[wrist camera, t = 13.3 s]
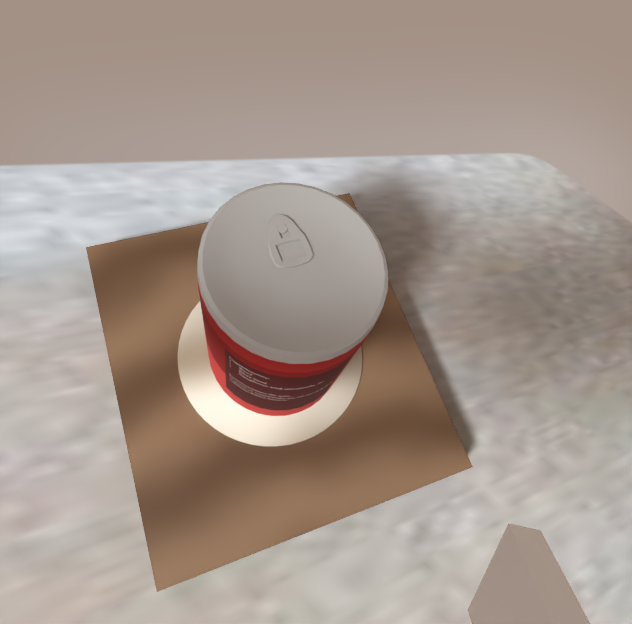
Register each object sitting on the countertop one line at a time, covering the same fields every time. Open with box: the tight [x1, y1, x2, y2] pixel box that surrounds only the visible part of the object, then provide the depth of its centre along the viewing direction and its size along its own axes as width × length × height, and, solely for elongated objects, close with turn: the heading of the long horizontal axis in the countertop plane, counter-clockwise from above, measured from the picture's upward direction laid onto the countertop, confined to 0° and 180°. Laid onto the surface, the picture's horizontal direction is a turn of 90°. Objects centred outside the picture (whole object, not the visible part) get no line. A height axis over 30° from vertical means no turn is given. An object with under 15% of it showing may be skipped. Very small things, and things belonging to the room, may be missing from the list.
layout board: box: [86, 193, 472, 592], centre depth 30 cm, size 20×18×2 cm
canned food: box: [197, 183, 388, 416], centre depth 24 cm, size 8×8×11 cm
